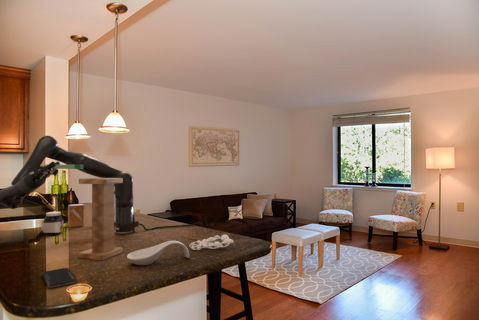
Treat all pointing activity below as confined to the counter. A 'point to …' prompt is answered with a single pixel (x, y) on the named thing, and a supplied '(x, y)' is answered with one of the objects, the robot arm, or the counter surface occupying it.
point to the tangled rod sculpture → (209, 241)
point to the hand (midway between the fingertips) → (56, 163)
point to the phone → (59, 277)
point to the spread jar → (52, 224)
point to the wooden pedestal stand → (102, 219)
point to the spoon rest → (153, 253)
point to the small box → (76, 215)
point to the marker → (68, 167)
